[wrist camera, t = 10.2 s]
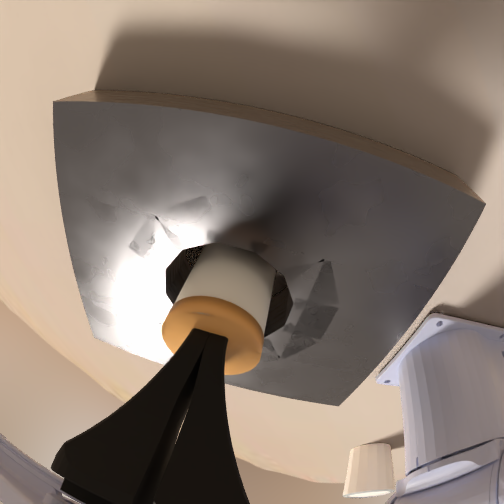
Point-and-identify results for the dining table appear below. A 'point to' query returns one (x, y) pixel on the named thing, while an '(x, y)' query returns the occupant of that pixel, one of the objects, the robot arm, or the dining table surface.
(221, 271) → the plug
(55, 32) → the dining table surface
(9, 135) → the dining table surface
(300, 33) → the dining table surface
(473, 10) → the dining table surface
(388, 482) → the cream tapered cylinder
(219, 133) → the dark grey slab
